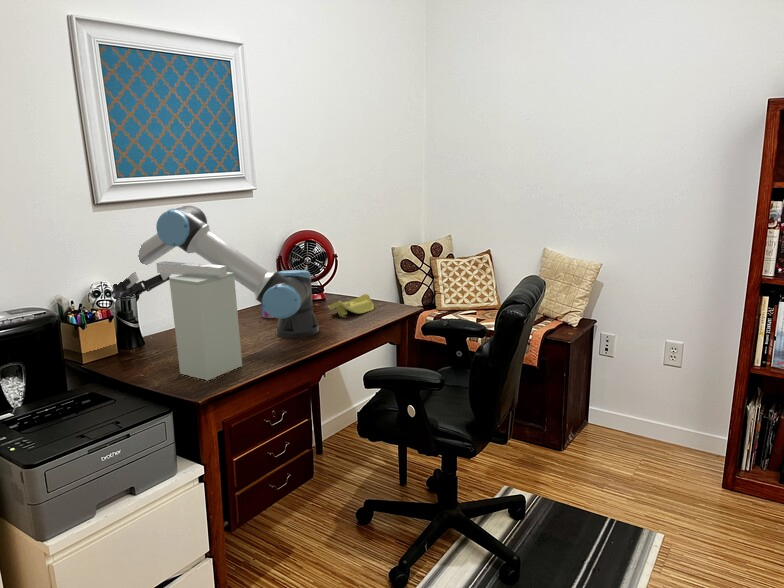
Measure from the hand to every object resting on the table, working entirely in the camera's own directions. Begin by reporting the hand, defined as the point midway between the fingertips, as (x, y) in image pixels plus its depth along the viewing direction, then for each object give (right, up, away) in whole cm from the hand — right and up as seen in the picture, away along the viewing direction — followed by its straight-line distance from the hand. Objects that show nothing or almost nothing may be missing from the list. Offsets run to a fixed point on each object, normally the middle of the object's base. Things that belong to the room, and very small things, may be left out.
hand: (154, 272), depth 200 cm
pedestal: (+21, -31, -8) cm, 38 cm away
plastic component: (+59, -15, +52) cm, 80 cm away
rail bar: (+16, -1, -14) cm, 21 cm away
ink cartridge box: (+29, -16, +52) cm, 61 cm away
